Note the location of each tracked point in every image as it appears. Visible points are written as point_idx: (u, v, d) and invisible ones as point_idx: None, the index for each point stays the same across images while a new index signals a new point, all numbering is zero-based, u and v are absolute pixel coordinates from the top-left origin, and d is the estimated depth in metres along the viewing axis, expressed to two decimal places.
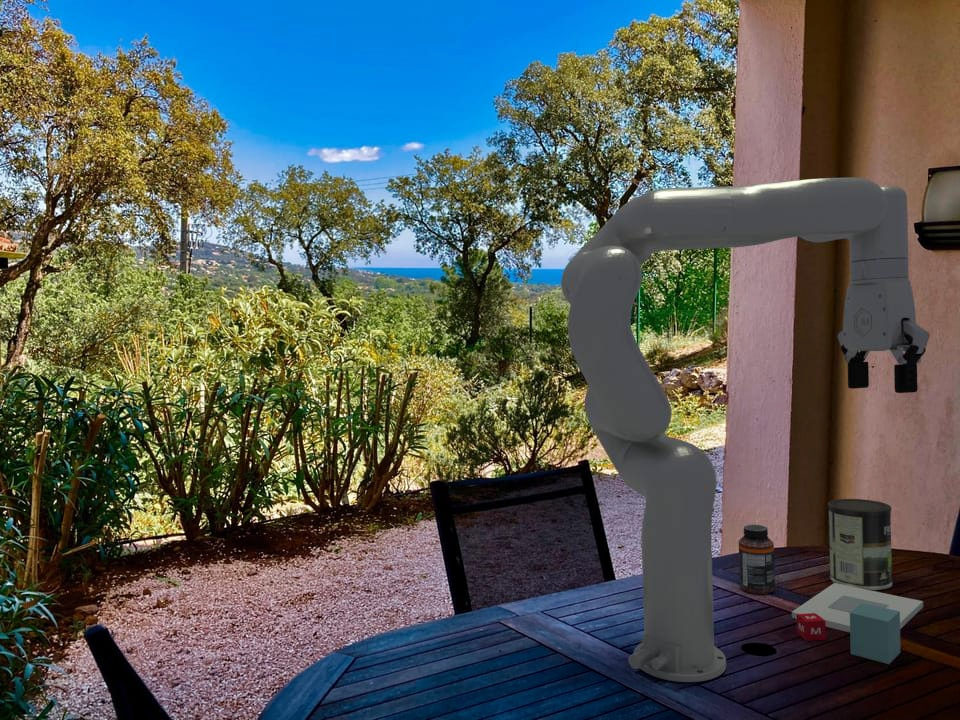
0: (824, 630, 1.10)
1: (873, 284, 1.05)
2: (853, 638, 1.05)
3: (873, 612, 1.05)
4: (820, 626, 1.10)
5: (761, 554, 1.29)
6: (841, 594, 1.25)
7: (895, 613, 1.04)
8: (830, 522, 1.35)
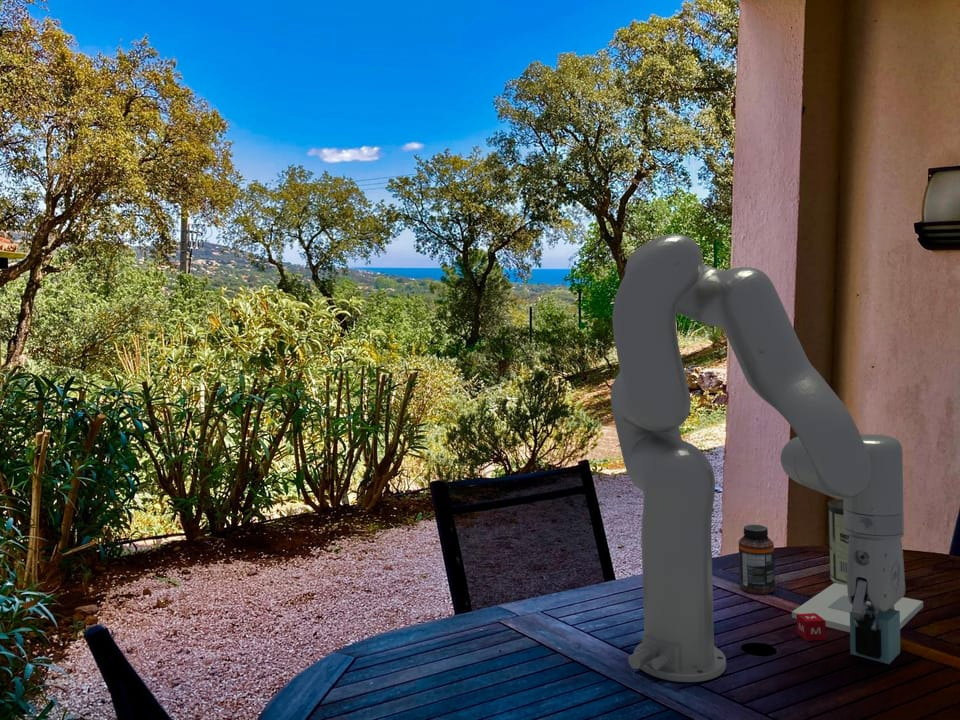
0: (824, 630, 1.10)
1: None
2: (853, 638, 1.05)
3: None
4: (820, 626, 1.10)
5: (761, 554, 1.29)
6: (841, 594, 1.25)
7: (895, 613, 1.04)
8: (830, 522, 1.35)
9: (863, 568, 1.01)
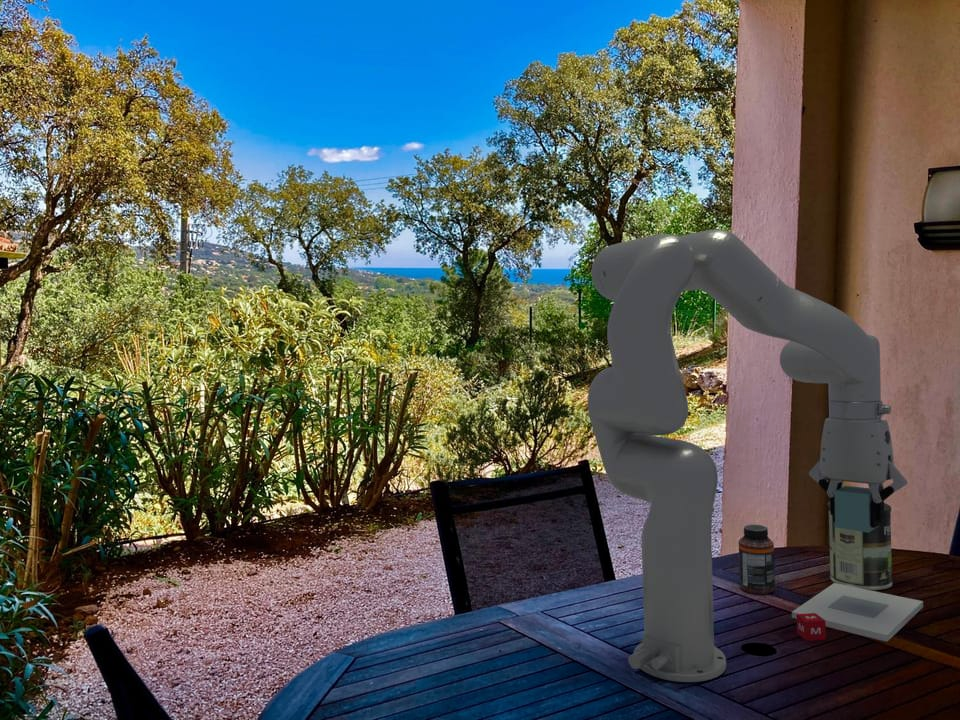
0: (824, 630, 1.10)
1: None
2: (868, 517, 1.16)
3: (859, 490, 1.19)
4: (820, 626, 1.10)
5: (761, 554, 1.29)
6: (841, 594, 1.25)
7: None
8: (830, 522, 1.35)
9: (889, 446, 1.15)
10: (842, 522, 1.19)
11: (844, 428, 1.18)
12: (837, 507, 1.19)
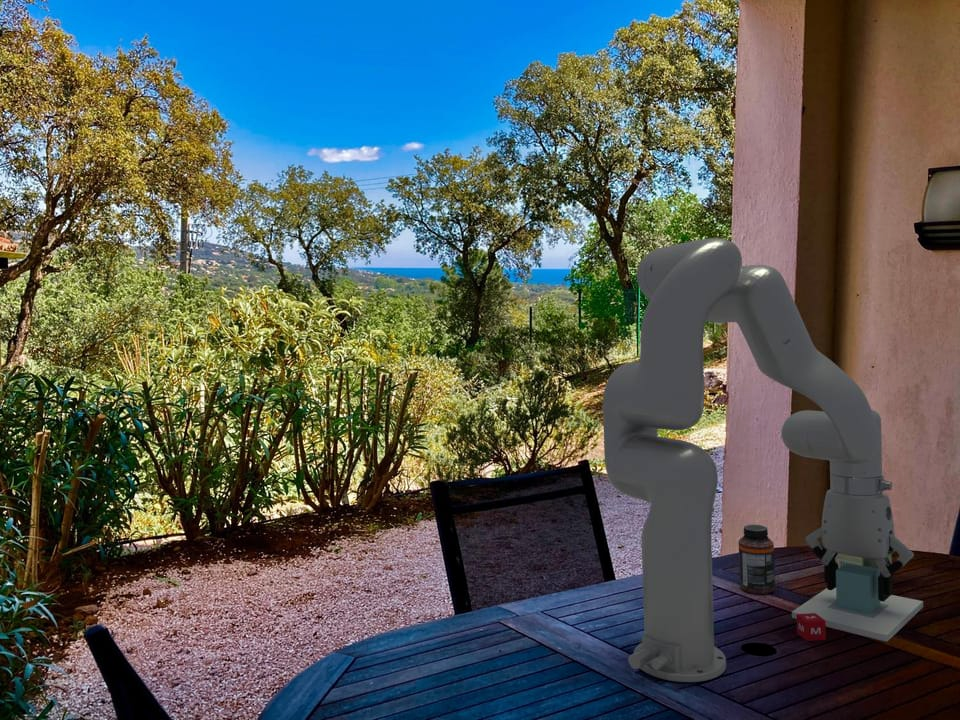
0: (824, 630, 1.10)
1: None
2: (870, 598, 1.16)
3: (860, 570, 1.19)
4: (820, 626, 1.10)
5: (761, 554, 1.29)
6: None
7: (854, 564, 1.22)
8: None
9: (890, 522, 1.16)
10: (843, 602, 1.19)
11: (845, 502, 1.18)
12: (839, 587, 1.19)
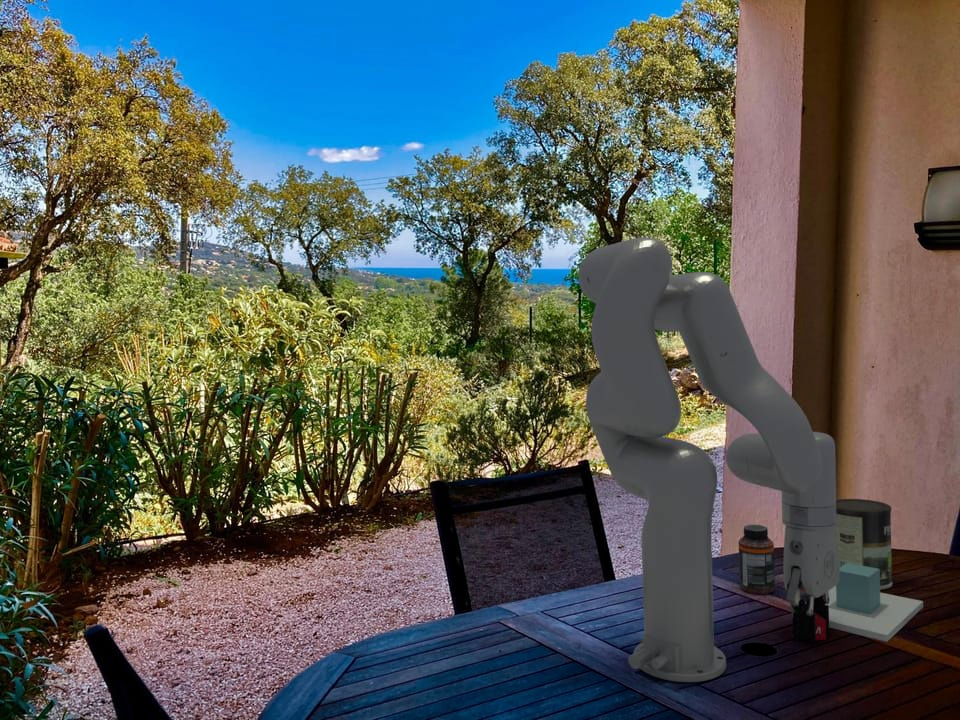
0: (824, 629, 1.10)
1: None
2: (870, 598, 1.16)
3: (860, 570, 1.19)
4: (820, 625, 1.10)
5: (761, 554, 1.29)
6: None
7: (854, 564, 1.22)
8: None
9: (797, 557, 1.07)
10: (843, 602, 1.19)
11: None
12: (839, 587, 1.19)
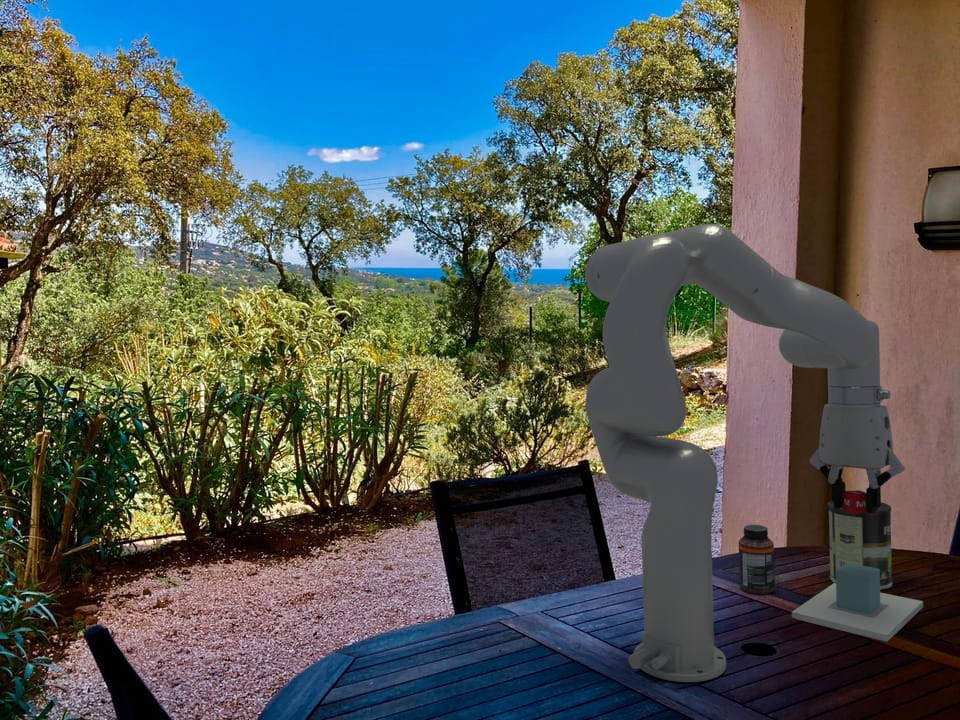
0: None
1: None
2: (870, 598, 1.16)
3: (860, 570, 1.19)
4: None
5: (761, 554, 1.29)
6: None
7: (854, 564, 1.22)
8: (830, 522, 1.35)
9: (888, 431, 1.15)
10: (843, 602, 1.19)
11: (843, 413, 1.17)
12: (839, 587, 1.19)
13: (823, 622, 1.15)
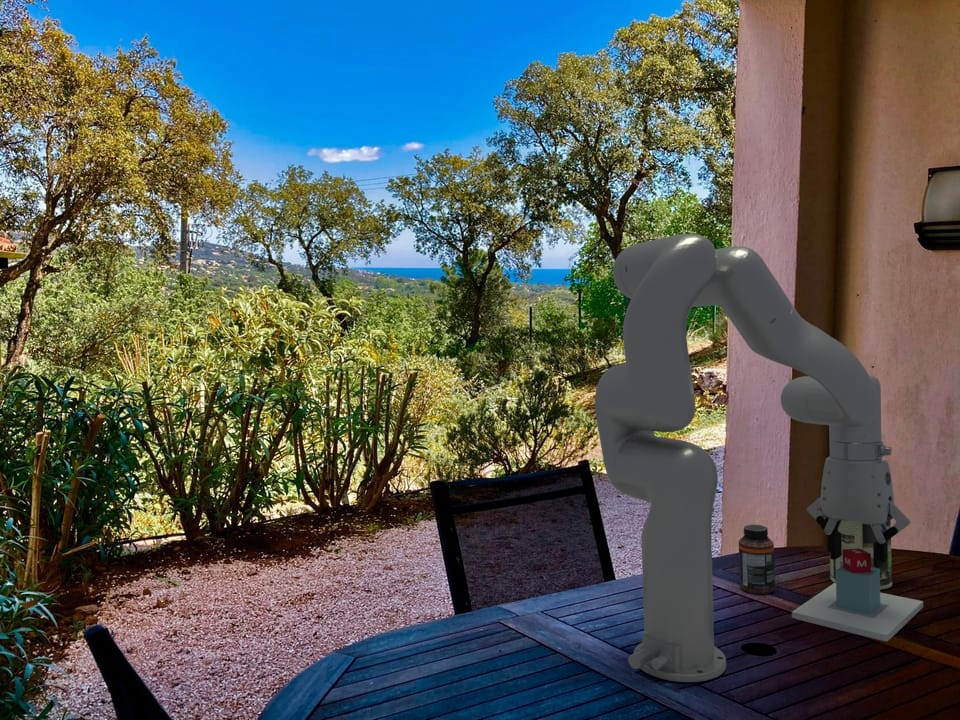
0: None
1: None
2: (870, 598, 1.16)
3: None
4: None
5: (761, 554, 1.29)
6: None
7: None
8: None
9: (890, 487, 1.16)
10: (843, 602, 1.19)
11: (845, 468, 1.18)
12: (839, 587, 1.19)
13: (823, 622, 1.15)
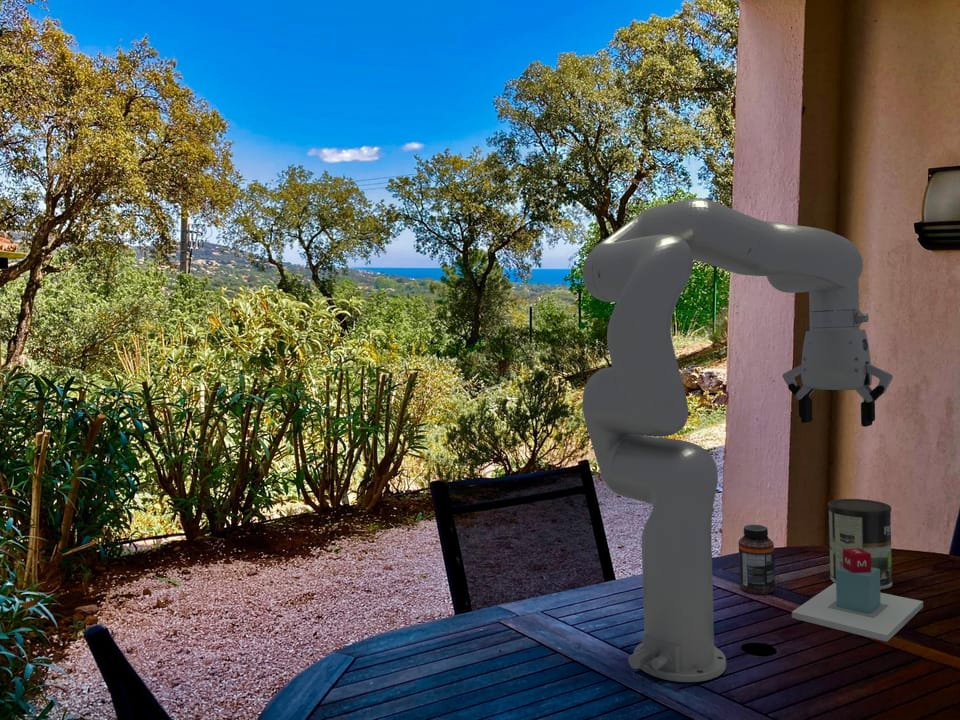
0: None
1: None
2: (870, 598, 1.16)
3: None
4: None
5: (761, 554, 1.29)
6: None
7: None
8: (830, 522, 1.35)
9: (867, 353, 1.20)
10: (843, 602, 1.19)
11: (824, 337, 1.22)
12: (839, 587, 1.19)
13: (823, 622, 1.15)
